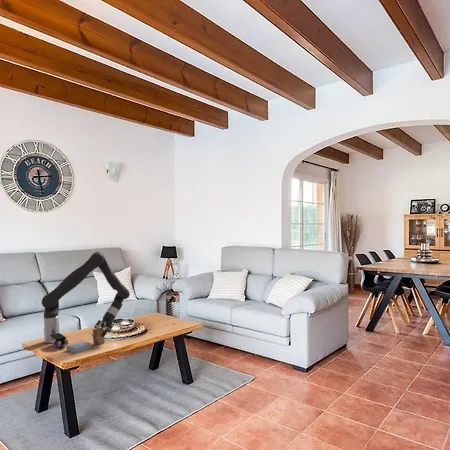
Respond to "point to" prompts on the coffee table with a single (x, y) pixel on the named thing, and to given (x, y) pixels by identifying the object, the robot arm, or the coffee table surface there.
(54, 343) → the figurine character
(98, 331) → the walnut block
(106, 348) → the coffee table surface
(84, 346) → the blue-grey square slab
